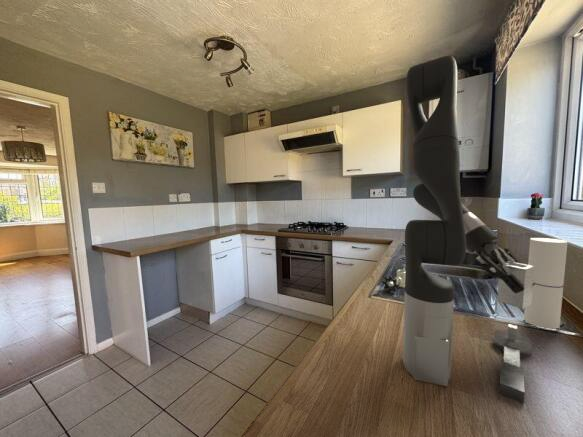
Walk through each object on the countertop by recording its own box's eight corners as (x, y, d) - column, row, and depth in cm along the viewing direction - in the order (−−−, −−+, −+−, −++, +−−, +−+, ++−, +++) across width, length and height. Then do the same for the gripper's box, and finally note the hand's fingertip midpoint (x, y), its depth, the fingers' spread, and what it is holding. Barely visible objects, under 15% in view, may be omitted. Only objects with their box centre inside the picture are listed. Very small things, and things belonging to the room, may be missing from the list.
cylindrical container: (522, 323, 70) (528, 240, 67) (525, 315, 74) (531, 236, 72) (558, 334, 64) (567, 243, 62) (559, 324, 69) (567, 240, 66)
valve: (396, 282, 104) (381, 290, 96) (396, 268, 103) (382, 274, 96) (411, 286, 99) (397, 295, 91) (412, 271, 98) (398, 278, 91)
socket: (531, 304, 57) (534, 266, 56) (522, 309, 55) (525, 269, 54) (506, 296, 61) (508, 261, 60) (497, 300, 59) (499, 264, 58)
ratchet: (493, 335, 64) (494, 316, 64) (530, 346, 59) (531, 325, 59) (487, 388, 47) (488, 362, 46) (537, 409, 42) (540, 380, 42)
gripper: (468, 226, 60) (528, 288, 50) (496, 222, 66) (554, 276, 57) (445, 243, 65) (496, 302, 55) (473, 237, 71) (523, 290, 62)
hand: (525, 288), depth 56 cm, fingers closed on socket, 4 cm apart
